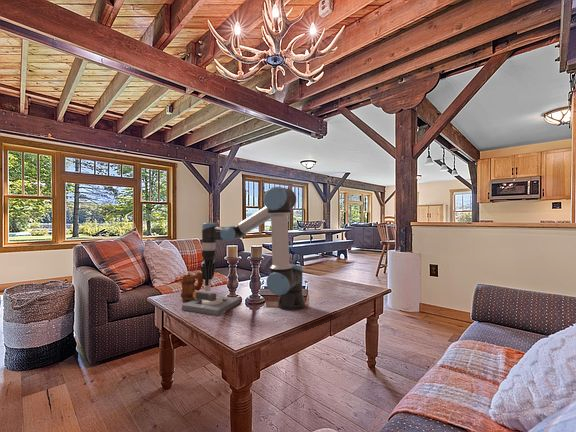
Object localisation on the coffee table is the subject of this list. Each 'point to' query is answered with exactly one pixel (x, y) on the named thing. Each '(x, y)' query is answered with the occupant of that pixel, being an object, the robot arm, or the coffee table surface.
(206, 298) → the dial
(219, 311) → the dial plate
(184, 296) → the mug
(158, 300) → the coffee table surface
